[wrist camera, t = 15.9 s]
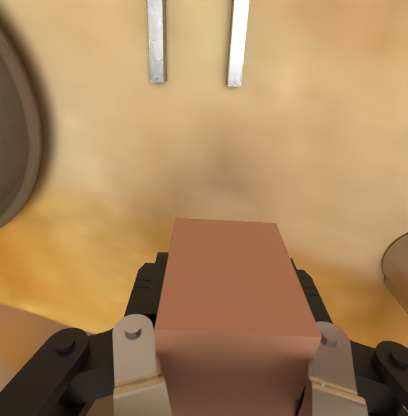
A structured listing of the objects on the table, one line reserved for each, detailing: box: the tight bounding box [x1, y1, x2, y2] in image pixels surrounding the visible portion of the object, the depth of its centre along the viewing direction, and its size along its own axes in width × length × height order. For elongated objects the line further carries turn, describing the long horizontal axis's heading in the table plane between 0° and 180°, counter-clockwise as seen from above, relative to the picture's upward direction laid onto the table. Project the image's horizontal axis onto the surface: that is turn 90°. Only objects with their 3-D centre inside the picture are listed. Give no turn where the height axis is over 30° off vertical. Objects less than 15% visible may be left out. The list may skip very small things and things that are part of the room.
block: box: [154, 218, 321, 416], centre depth 12 cm, size 8×4×6 cm, turn 177°
